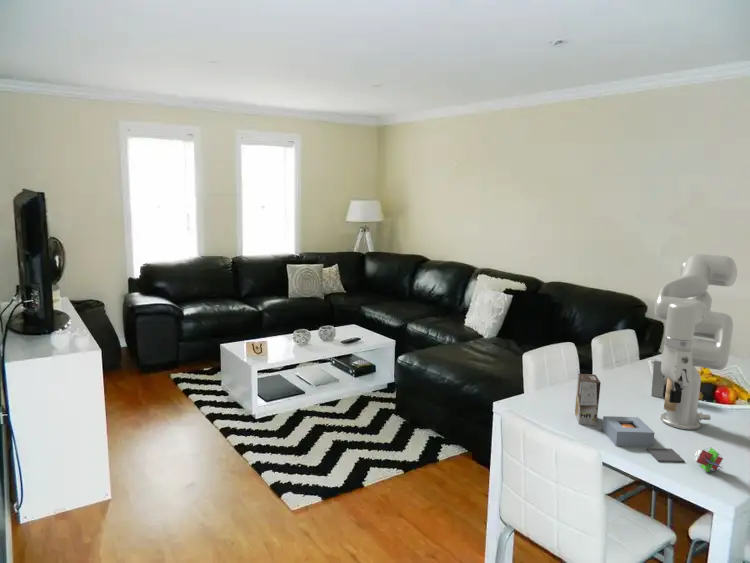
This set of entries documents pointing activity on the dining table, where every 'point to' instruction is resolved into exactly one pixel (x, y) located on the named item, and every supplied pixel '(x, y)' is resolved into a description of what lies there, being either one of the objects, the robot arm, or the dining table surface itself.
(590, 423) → the coffee box
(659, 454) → the rubber pad
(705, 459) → the geometric puzzle
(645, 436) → the grey button housing
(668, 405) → the beech dowel
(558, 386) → the dining table surface
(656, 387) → the skincare box
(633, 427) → the orange push button
